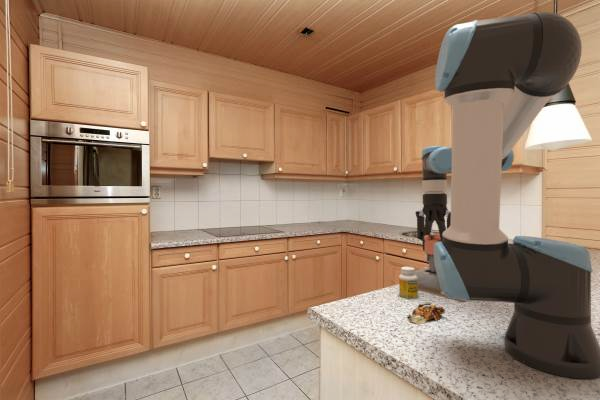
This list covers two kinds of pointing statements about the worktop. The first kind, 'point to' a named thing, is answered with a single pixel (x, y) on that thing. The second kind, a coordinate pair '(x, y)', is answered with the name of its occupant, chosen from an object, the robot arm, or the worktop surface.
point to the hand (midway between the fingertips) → (435, 261)
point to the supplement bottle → (408, 283)
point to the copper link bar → (431, 249)
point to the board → (438, 294)
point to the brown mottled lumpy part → (426, 313)
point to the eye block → (427, 280)
